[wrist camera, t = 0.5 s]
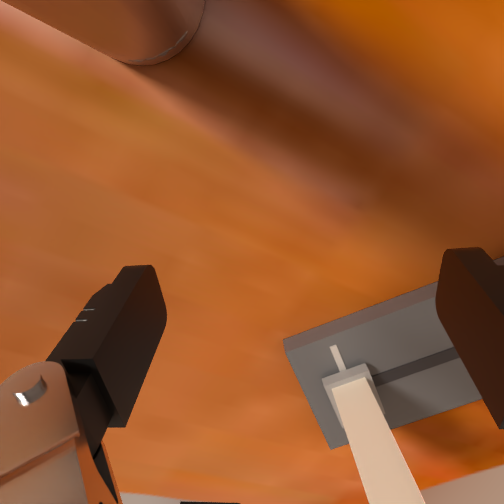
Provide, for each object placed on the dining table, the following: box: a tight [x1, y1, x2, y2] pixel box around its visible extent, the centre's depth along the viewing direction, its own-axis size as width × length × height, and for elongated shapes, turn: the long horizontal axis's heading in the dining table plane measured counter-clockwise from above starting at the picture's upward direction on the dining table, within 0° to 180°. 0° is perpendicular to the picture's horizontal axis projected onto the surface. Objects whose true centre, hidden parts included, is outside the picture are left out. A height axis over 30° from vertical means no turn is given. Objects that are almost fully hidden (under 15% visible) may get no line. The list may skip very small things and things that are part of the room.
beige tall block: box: [322, 363, 426, 504], centre depth 26 cm, size 5×4×13 cm
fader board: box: [283, 256, 504, 449], centre depth 33 cm, size 12×22×2 cm, turn 113°
